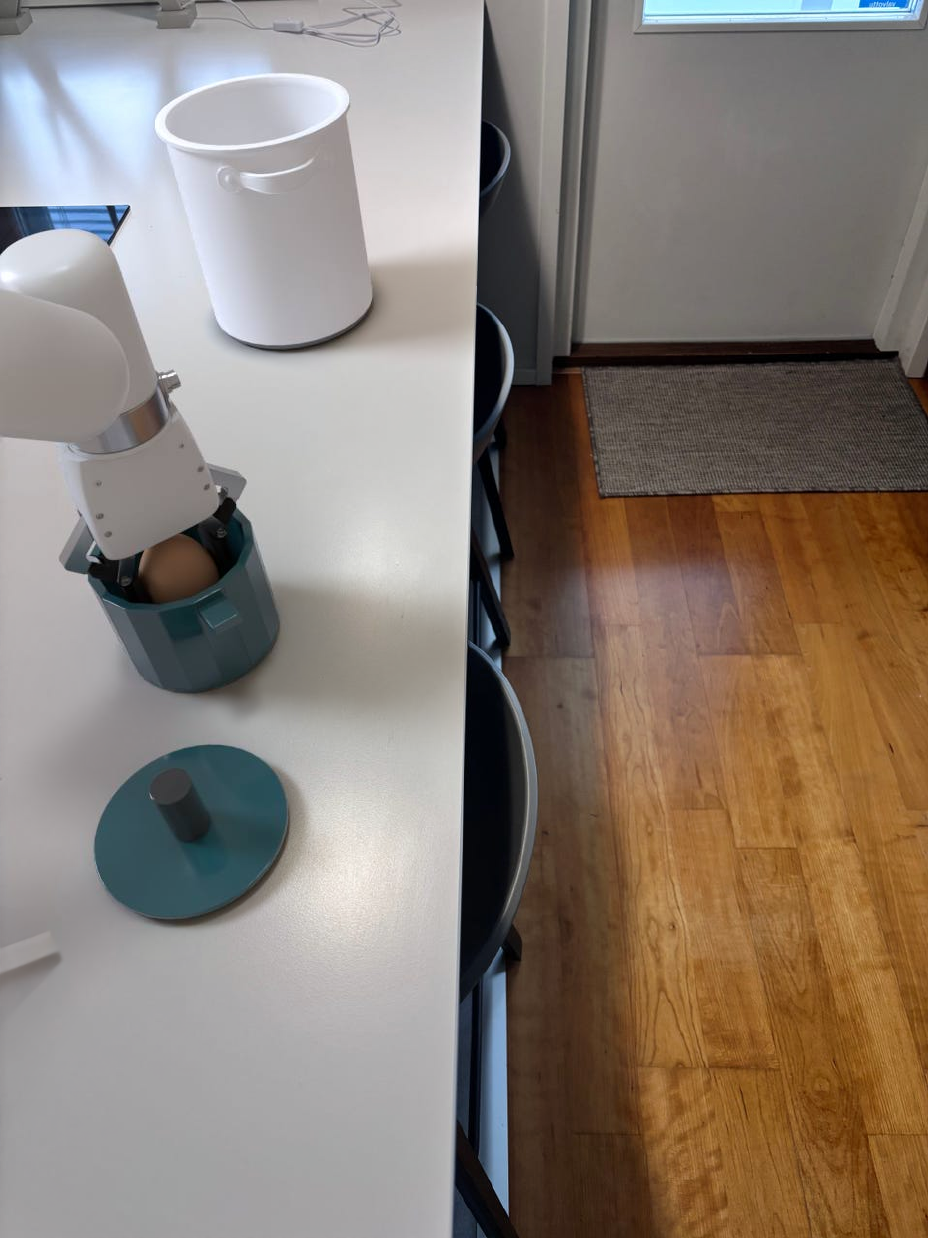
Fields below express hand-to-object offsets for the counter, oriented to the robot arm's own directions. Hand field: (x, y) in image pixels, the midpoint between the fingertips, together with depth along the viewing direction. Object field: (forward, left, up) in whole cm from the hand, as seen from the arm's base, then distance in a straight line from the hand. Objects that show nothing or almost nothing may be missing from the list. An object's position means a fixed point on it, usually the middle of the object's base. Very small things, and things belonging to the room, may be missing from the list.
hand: (182, 584), depth 81 cm
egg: (0, 0, -3) cm, 3 cm away
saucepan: (0, 0, -7) cm, 7 cm away
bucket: (+35, +43, -7) cm, 56 cm away
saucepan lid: (-10, -18, -6) cm, 21 cm away
